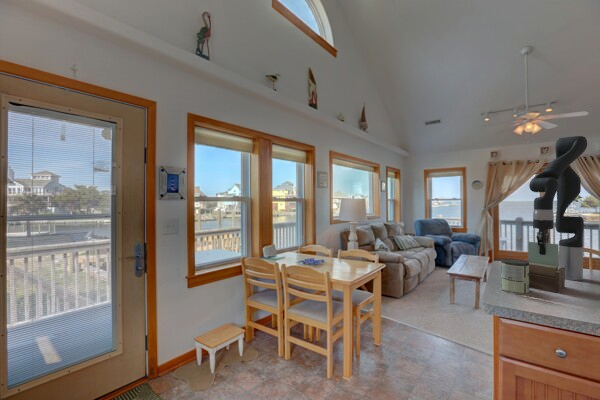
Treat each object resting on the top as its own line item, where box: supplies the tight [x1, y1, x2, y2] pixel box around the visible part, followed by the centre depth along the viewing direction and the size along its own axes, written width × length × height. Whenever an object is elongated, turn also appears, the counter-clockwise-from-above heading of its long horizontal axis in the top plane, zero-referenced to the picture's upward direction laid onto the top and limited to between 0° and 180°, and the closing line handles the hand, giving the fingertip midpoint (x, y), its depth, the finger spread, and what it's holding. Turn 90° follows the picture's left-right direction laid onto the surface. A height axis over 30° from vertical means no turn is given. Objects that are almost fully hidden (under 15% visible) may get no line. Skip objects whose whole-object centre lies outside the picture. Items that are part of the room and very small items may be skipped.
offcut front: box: [529, 263, 556, 276], centre depth 131 cm, size 1×11×10 cm, turn 38°
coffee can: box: [500, 258, 530, 296], centre depth 127 cm, size 10×10×14 cm
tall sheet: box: [527, 241, 559, 270], centre depth 135 cm, size 1×11×20 cm, turn 38°
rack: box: [529, 267, 566, 294], centre depth 132 cm, size 14×15×10 cm
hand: (542, 254), depth 135 cm, fingers closed on tall sheet, 1 cm apart
